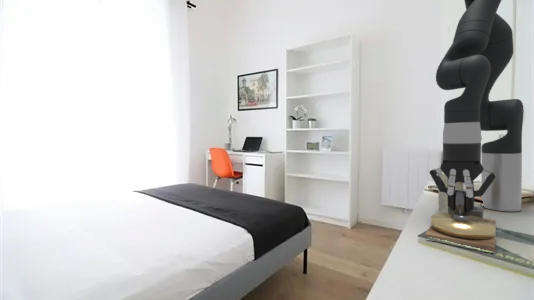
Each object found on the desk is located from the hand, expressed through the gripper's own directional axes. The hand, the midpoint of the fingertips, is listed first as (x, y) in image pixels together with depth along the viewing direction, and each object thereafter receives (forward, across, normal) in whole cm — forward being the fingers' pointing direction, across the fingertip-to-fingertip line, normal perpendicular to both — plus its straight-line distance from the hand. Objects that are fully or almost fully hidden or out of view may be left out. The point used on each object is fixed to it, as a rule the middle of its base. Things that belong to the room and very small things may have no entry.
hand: (460, 210), depth 65 cm
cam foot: (+3, +1, -5) cm, 6 cm away
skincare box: (+5, -4, +13) cm, 15 cm away
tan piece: (+5, +1, -2) cm, 5 cm away
